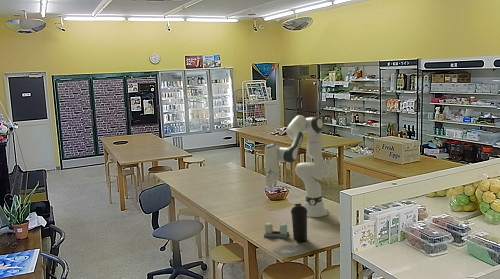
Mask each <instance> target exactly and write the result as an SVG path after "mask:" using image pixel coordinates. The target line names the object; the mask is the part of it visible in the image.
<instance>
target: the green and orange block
mask: <svg viewBox="0 0 500 279" xmlns="http://www.w3.org/2000/svg"><path fill="white" fill-rule="evenodd" d="M264 231H265V233H264V234H273V231H274V226H273V223H272V222H265V224H264Z"/></svg>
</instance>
